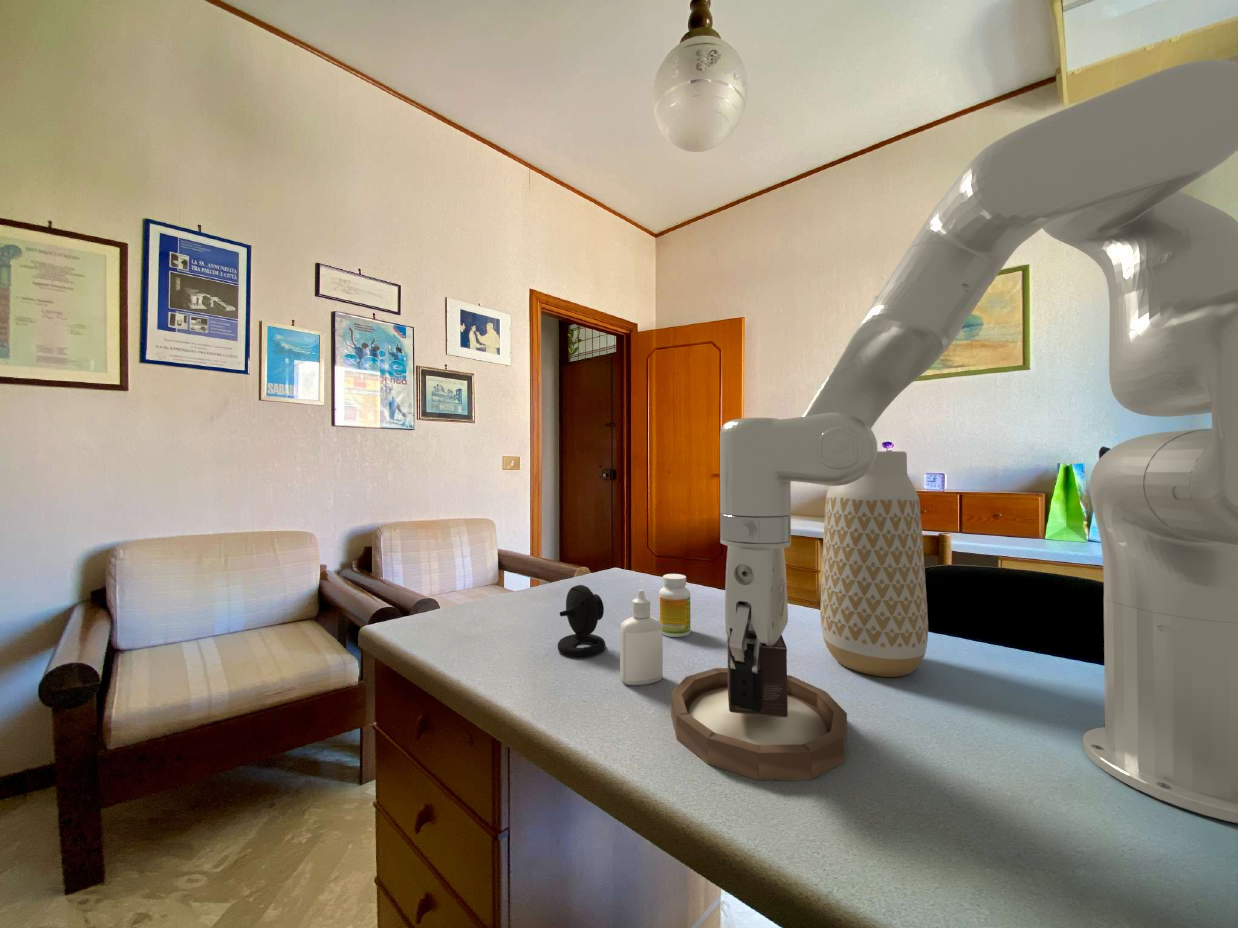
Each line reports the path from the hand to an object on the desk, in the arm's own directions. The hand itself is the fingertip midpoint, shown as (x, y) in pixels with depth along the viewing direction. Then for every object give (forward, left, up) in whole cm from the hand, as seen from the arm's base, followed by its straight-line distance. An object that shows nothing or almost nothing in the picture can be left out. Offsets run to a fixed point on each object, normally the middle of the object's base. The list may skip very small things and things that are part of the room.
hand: (755, 689), depth 52 cm
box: (0, 0, -2) cm, 2 cm away
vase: (-11, -25, -4) cm, 28 cm away
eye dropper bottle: (+16, -4, -4) cm, 17 cm away
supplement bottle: (+19, -23, -4) cm, 30 cm away
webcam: (+29, -9, -4) cm, 31 cm away
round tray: (0, 0, -4) cm, 4 cm away
